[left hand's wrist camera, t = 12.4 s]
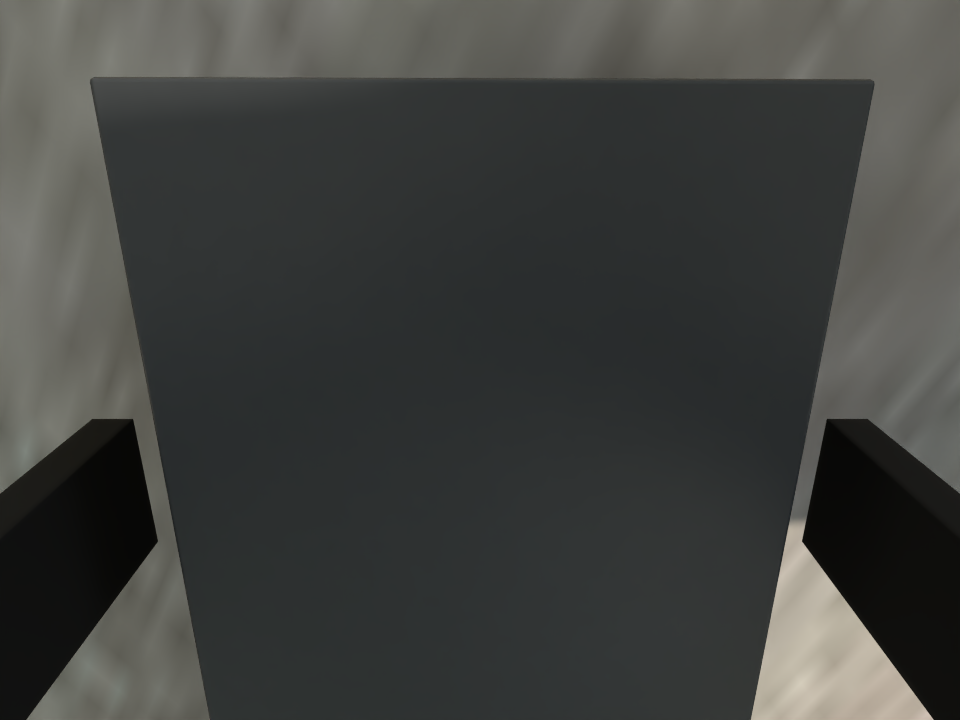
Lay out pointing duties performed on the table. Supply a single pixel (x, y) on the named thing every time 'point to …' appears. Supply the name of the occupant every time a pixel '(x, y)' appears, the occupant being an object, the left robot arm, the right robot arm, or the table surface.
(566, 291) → the wide beam
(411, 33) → the table surface
